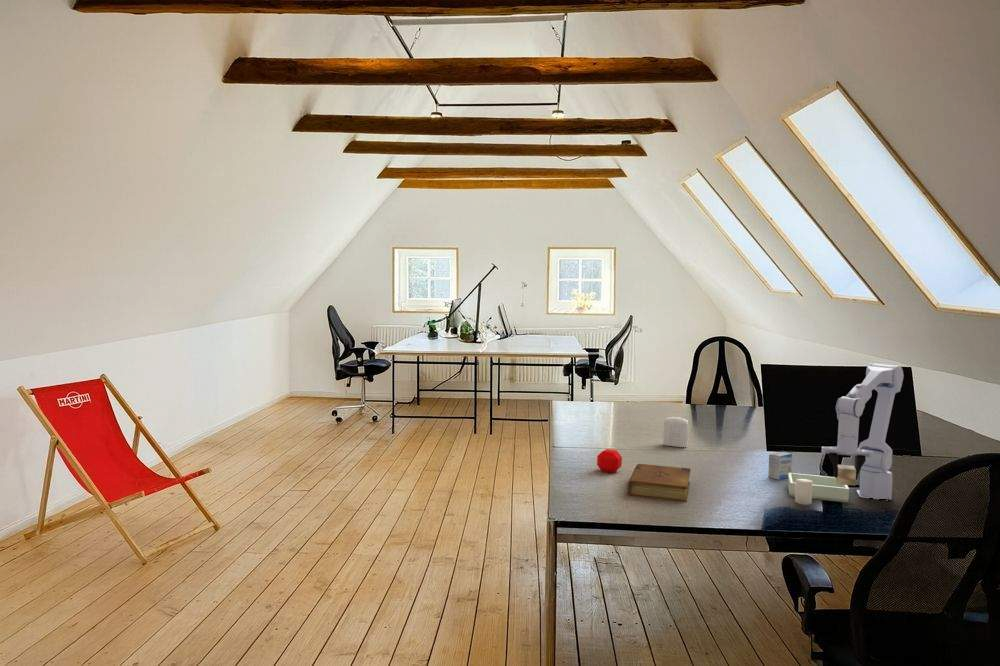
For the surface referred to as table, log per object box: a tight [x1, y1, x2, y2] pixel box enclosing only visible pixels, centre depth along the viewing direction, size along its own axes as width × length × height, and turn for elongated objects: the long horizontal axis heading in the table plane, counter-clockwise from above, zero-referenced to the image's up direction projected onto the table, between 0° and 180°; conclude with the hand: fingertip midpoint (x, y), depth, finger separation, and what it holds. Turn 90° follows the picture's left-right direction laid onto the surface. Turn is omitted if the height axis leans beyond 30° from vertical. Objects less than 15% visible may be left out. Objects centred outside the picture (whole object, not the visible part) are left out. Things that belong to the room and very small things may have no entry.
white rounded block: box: [662, 416, 690, 449], centre depth 311 cm, size 10×4×12 cm, turn 67°
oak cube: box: [836, 464, 856, 486], centre depth 231 cm, size 5×5×5 cm
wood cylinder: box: [794, 479, 813, 506], centre depth 236 cm, size 5×5×7 cm
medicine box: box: [767, 451, 793, 481], centre depth 265 cm, size 8×4×9 cm, turn 126°
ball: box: [596, 448, 623, 474], centre depth 269 cm, size 8×8×8 cm
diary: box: [627, 463, 691, 503], centre depth 248 cm, size 23×19×6 cm
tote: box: [787, 472, 850, 503], centre depth 246 cm, size 18×14×4 cm
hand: (845, 477), depth 231 cm, fingers closed on oak cube, 5 cm apart
